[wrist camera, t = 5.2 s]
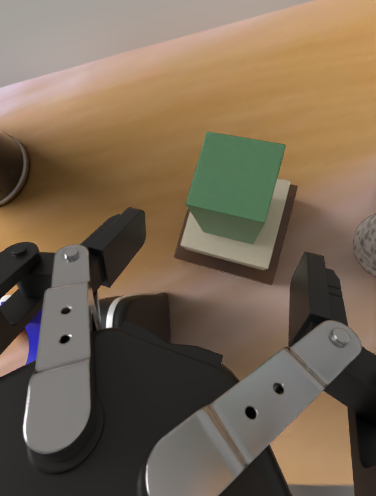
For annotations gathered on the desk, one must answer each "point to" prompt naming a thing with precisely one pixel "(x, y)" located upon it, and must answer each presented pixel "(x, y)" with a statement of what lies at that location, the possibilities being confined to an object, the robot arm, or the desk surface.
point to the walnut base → (239, 269)
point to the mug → (366, 244)
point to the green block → (234, 185)
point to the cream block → (236, 250)
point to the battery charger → (138, 312)
